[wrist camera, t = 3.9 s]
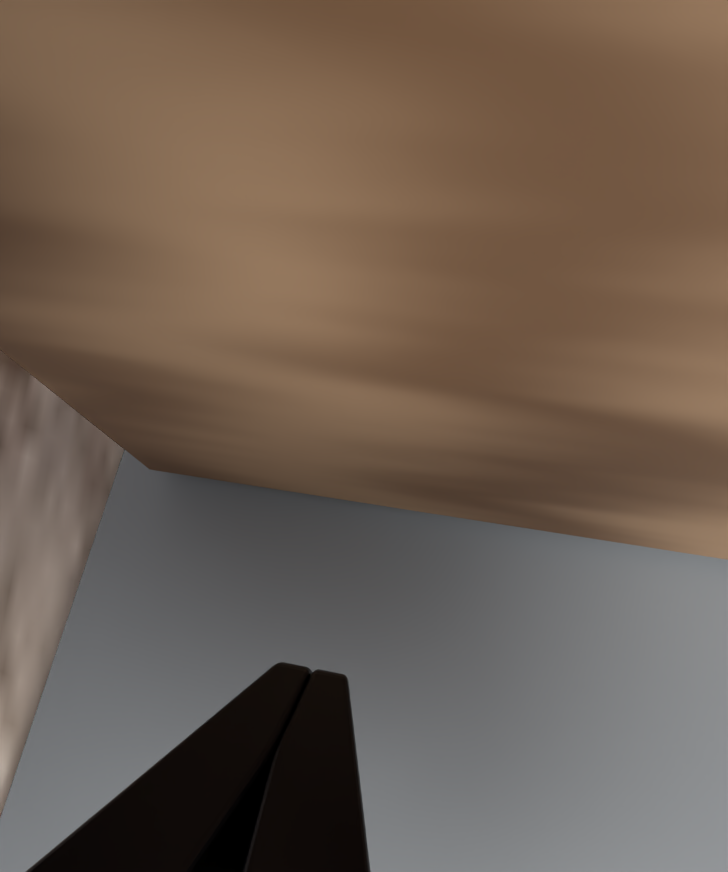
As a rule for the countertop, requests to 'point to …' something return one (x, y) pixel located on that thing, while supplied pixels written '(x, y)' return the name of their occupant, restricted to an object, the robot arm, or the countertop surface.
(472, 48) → the panel
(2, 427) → the countertop surface
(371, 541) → the board
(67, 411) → the countertop surface
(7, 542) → the countertop surface
